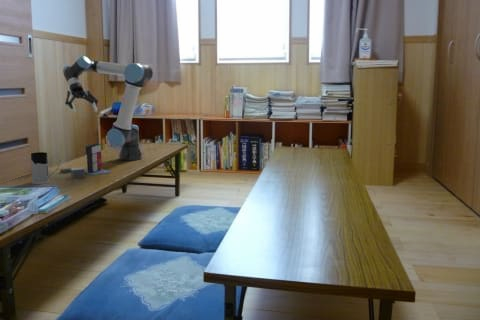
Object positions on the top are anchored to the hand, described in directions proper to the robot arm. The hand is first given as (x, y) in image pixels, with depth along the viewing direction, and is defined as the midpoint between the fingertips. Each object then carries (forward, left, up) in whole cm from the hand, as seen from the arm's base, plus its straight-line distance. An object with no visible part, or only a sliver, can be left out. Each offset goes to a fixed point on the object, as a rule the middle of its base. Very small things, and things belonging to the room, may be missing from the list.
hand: (86, 111), depth 270 cm
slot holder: (+19, +25, -33) cm, 45 cm away
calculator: (+6, +25, -32) cm, 41 cm away
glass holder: (+36, +34, -33) cm, 59 cm away
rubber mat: (+6, +25, -33) cm, 41 cm away
